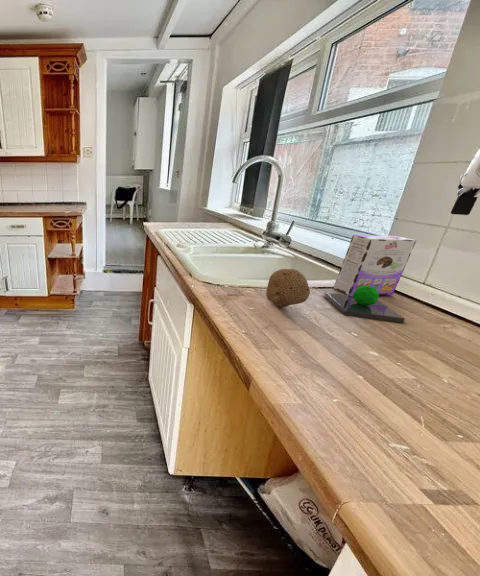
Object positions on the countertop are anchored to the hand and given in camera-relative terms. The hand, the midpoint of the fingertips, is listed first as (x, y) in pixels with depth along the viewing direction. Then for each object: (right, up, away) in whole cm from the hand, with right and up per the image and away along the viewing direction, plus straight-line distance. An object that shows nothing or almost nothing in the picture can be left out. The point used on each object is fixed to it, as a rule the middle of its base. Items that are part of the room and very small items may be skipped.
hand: (477, 217), depth 66 cm
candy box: (-4, -17, +24) cm, 29 cm away
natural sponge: (-36, -20, +11) cm, 42 cm away
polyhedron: (-15, -20, +12) cm, 27 cm away
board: (-15, -21, +12) cm, 28 cm away
